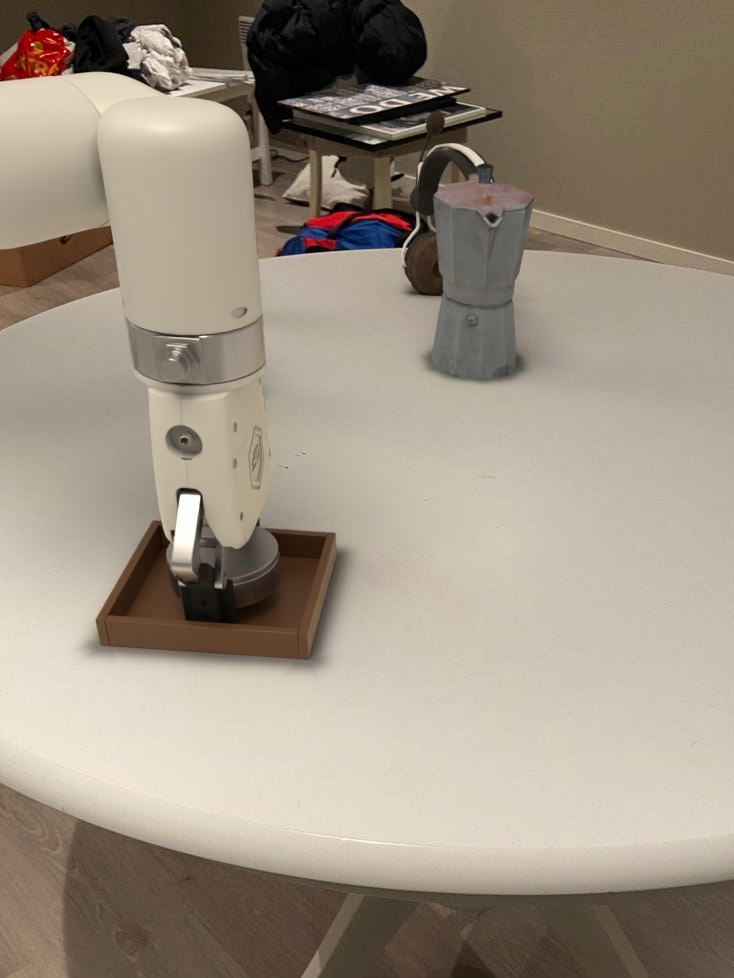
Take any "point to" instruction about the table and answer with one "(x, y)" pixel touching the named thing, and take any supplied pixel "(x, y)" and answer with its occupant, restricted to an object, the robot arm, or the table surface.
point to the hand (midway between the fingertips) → (227, 595)
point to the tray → (261, 626)
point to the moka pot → (479, 274)
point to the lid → (243, 566)
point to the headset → (432, 208)
